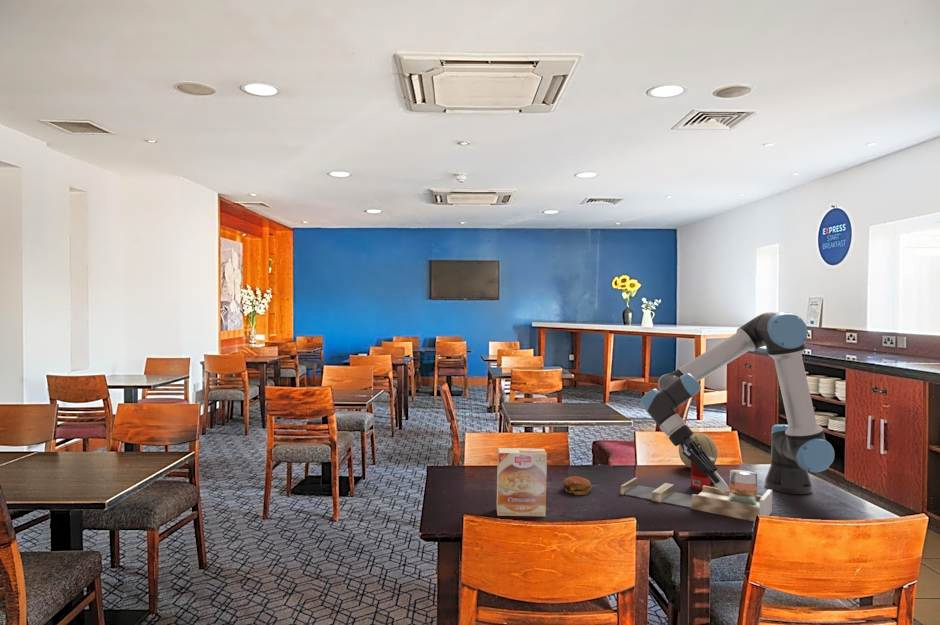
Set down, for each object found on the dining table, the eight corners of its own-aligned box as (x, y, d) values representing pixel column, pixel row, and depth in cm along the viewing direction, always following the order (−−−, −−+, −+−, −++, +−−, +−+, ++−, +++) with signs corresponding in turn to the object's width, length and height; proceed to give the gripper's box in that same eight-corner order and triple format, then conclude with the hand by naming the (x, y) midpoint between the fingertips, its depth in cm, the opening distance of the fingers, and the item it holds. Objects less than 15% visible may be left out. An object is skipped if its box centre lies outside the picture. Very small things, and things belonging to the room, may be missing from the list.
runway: (620, 494, 213) (620, 481, 213) (634, 485, 224) (635, 473, 224) (759, 522, 187) (759, 507, 187) (767, 510, 198) (768, 496, 198)
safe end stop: (721, 514, 193) (721, 492, 193) (731, 504, 204) (731, 482, 204) (763, 523, 186) (764, 500, 186) (771, 511, 197) (772, 489, 197)
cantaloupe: (716, 476, 238) (716, 437, 238) (676, 471, 244) (676, 433, 244) (718, 467, 252) (719, 430, 251) (680, 463, 258) (681, 427, 258)
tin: (741, 496, 203) (742, 469, 203) (762, 503, 195) (763, 475, 196) (723, 498, 199) (724, 470, 200) (743, 505, 192) (744, 476, 192)
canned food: (716, 492, 217) (716, 461, 217) (692, 490, 219) (692, 459, 219) (712, 486, 225) (712, 455, 225) (689, 484, 226) (689, 454, 226)
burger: (586, 487, 221) (587, 474, 221) (594, 495, 212) (594, 482, 212) (559, 487, 220) (560, 474, 220) (566, 495, 211) (566, 482, 211)
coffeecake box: (497, 516, 189) (498, 452, 188) (496, 508, 196) (497, 447, 195) (546, 517, 189) (547, 453, 188) (543, 509, 196) (544, 447, 196)
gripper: (674, 435, 214) (722, 493, 204) (661, 439, 204) (711, 501, 194) (691, 421, 211) (740, 480, 201) (678, 425, 201) (730, 487, 191)
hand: (726, 490), depth 197 cm, fingers closed
